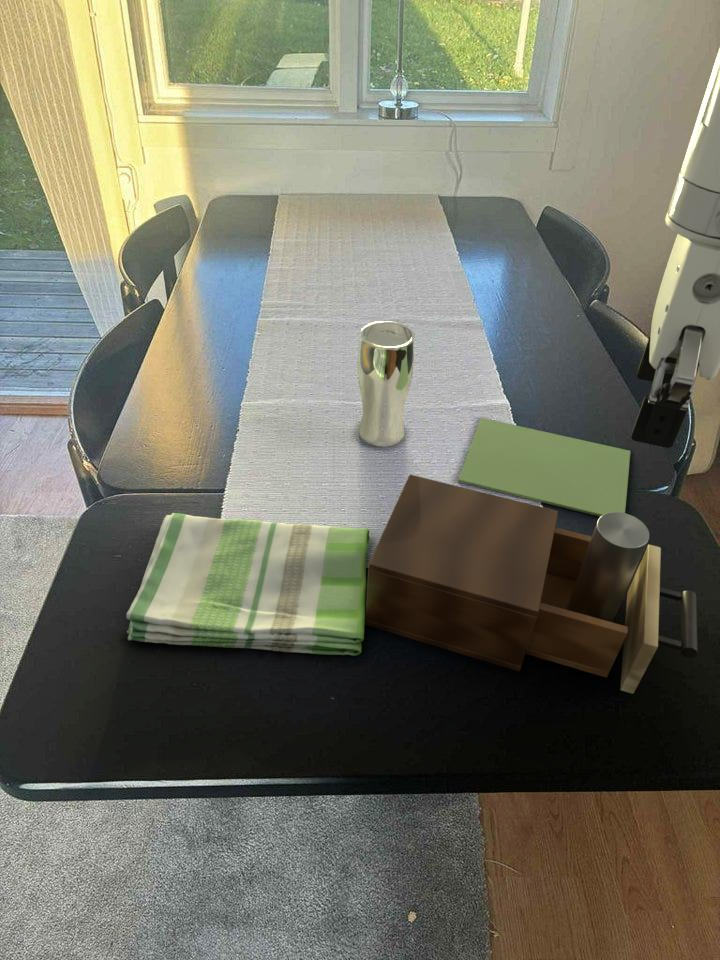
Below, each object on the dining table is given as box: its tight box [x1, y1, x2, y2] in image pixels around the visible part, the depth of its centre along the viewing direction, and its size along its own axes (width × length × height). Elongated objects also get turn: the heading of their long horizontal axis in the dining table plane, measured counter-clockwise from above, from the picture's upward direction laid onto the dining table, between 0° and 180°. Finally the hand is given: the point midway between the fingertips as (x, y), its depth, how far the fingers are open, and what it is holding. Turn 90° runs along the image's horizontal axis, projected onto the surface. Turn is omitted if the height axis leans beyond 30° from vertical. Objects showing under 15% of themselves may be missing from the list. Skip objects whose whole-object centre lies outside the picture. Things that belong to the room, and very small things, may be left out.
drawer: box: [525, 526, 699, 695], centre depth 67 cm, size 19×12×7 cm, turn 71°
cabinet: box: [365, 474, 559, 672], centre depth 70 cm, size 16×14×9 cm
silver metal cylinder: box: [566, 512, 650, 623], centre depth 65 cm, size 4×4×13 cm
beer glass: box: [357, 320, 415, 448], centre depth 89 cm, size 7×7×15 cm
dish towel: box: [125, 512, 371, 657], centre depth 72 cm, size 17×23×4 cm
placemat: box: [457, 417, 631, 518], centre depth 90 cm, size 20×14×1 cm
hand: (652, 409), depth 60 cm, fingers open, 9 cm apart
